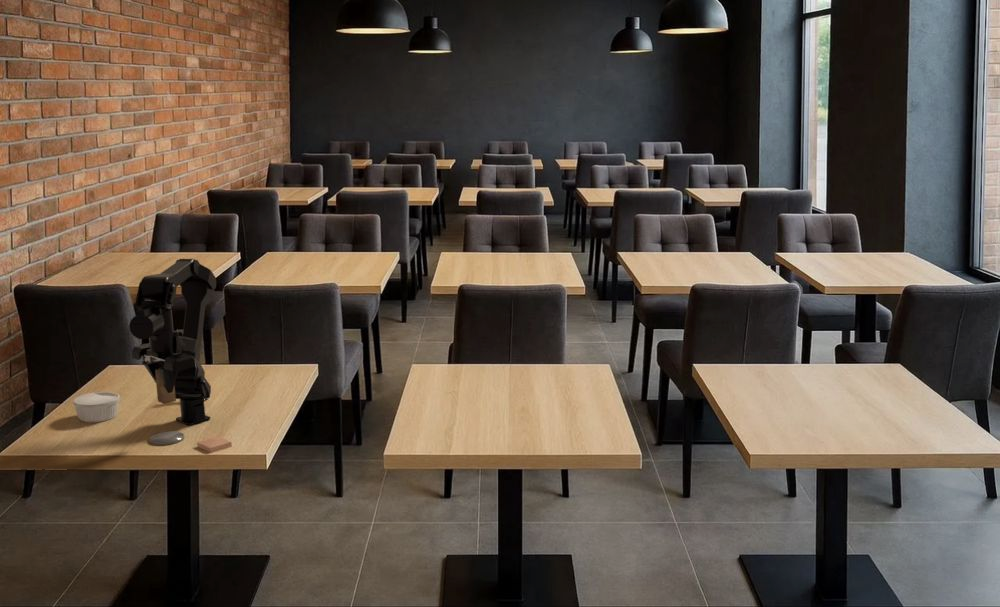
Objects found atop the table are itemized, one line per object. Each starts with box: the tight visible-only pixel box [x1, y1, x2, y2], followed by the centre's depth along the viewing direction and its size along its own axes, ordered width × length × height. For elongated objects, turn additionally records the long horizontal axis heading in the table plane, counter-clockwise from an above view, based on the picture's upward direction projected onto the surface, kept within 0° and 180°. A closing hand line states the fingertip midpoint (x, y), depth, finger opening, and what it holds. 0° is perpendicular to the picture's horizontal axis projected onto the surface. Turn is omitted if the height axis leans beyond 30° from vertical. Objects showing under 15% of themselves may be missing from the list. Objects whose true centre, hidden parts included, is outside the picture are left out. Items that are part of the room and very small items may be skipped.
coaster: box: [149, 431, 185, 446], centre depth 253 cm, size 8×8×1 cm
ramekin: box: [72, 391, 121, 423], centre depth 269 cm, size 11×11×5 cm
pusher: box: [155, 369, 177, 405], centre depth 250 cm, size 3×3×8 cm
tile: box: [196, 435, 233, 453], centre depth 248 cm, size 2×6×6 cm
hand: (166, 391), depth 250 cm, fingers closed on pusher, 3 cm apart
